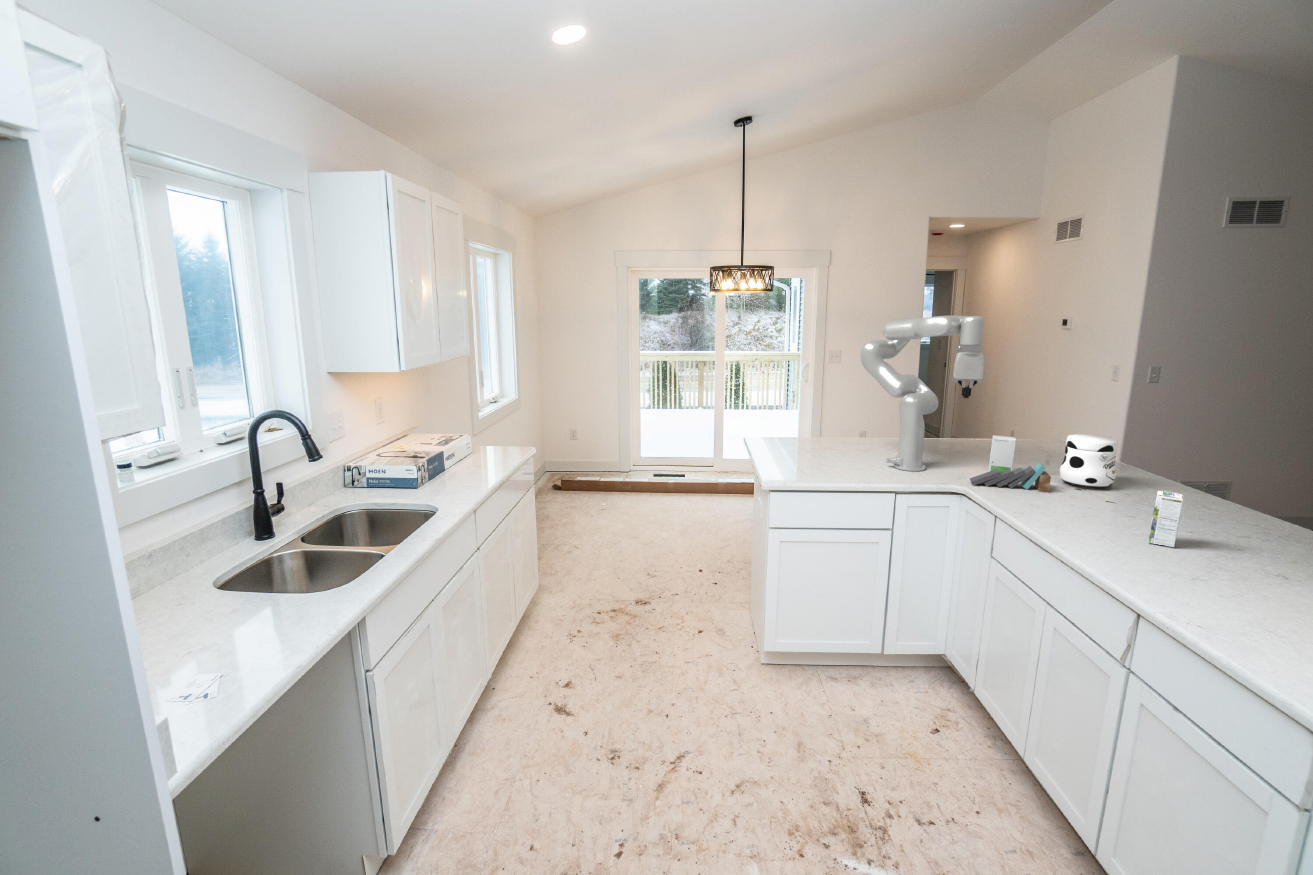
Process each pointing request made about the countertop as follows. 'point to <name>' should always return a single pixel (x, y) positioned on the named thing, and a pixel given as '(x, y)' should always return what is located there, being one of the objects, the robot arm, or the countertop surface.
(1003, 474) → the tile
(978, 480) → the tile
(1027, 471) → the tile
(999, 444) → the skincare box
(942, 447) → the countertop surface
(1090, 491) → the countertop surface
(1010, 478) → the tile
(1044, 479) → the bookend
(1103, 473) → the spotted treat jar
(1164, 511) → the syrup box
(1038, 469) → the domino
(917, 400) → the robot arm
